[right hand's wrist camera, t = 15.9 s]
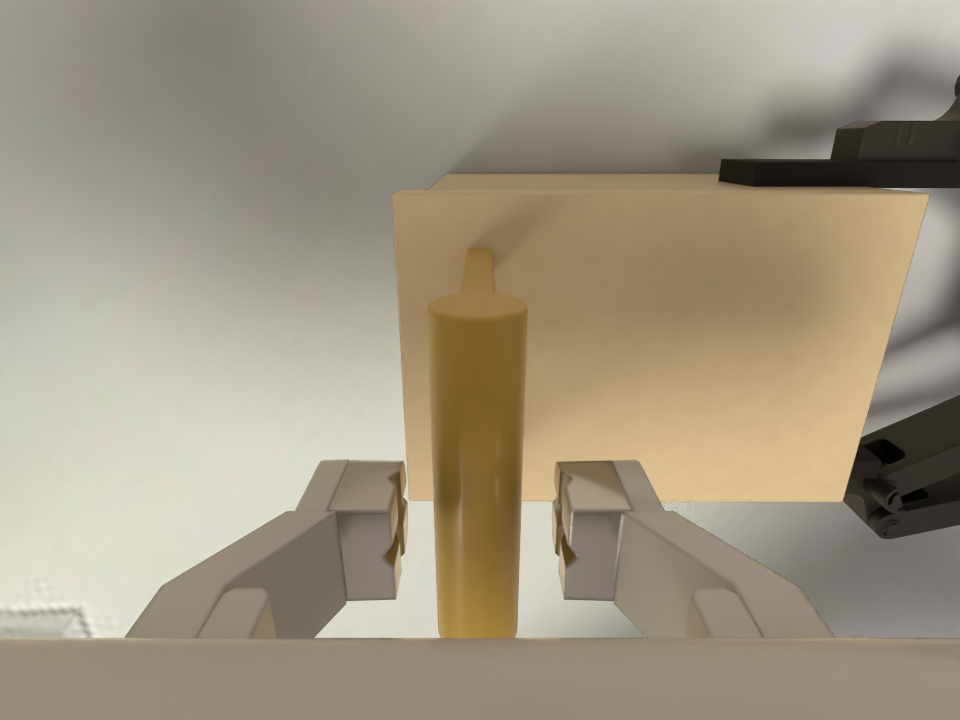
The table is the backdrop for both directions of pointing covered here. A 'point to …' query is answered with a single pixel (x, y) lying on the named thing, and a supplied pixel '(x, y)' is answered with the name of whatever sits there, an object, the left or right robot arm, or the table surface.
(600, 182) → the chest
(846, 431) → the lid
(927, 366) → the table surface
